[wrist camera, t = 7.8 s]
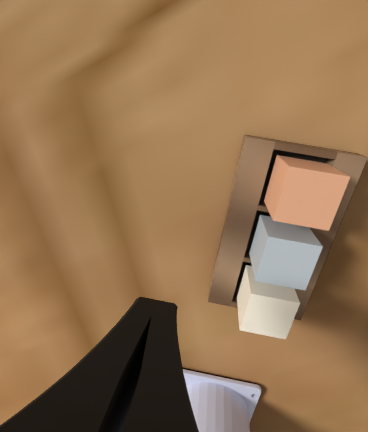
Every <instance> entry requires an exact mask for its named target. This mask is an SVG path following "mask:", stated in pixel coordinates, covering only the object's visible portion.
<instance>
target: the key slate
mask: <svg viewBox="0 0 368 432" xmlns="http://www.w3.org/2000/svg"><path fill="white" fill-rule="evenodd" d="M322 248H323V246H322V245H321V243H320V242H319V241H318V239H317V238H316V236H315V235H314V234H313V232H312V231H311V229H310V228H309V227H305V226H300V225H294V224H289V223H283V222H277V221H273V220H272V217H270V216H264V215H260V217H259V221H258V224H257V228H256V232H255V235H254V239H253V242H252V246H251V249H250V253H249V255H250V260H251V264H252V269H253V274H254V279H255V281H258V282H263V283H269V284H274V285H279V286H284V287H289V288H295V289H300V290H306V288H307V285H308V283H309V280H310V278H311V275H312V273H313V270H314V268H315V265H316V263H317V260H318V258H319V255H320V253H321V250H322Z"/></svg>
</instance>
